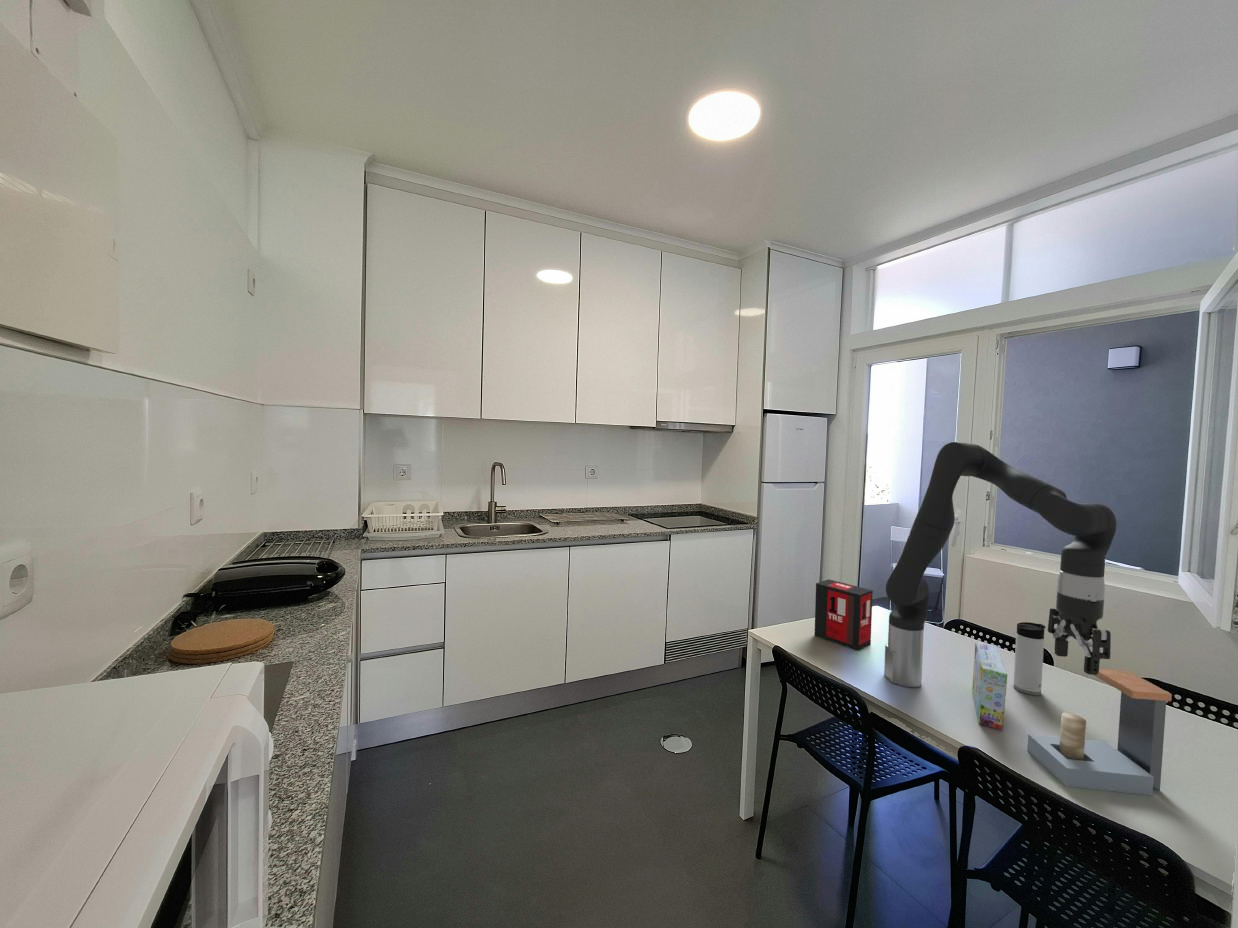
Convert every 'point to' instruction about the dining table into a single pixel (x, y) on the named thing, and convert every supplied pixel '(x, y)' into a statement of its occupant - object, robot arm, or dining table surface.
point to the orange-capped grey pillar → (1140, 720)
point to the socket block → (1092, 766)
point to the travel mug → (1029, 658)
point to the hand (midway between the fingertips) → (1075, 664)
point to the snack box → (989, 685)
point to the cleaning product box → (843, 614)
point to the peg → (1072, 736)
